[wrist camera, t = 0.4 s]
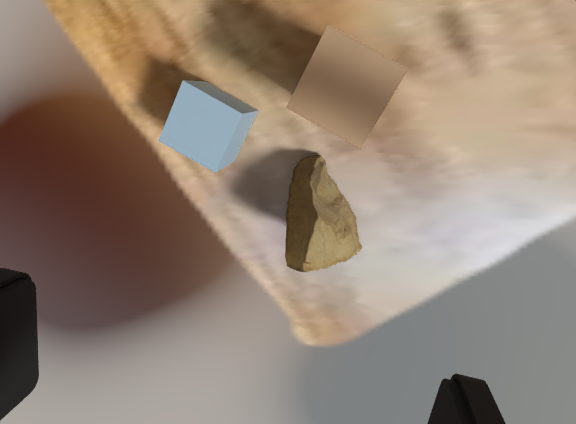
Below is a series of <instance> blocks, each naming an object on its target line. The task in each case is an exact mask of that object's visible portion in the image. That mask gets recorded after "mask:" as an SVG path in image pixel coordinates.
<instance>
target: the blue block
mask: <svg viewBox="0 0 576 424" xmlns="http://www.w3.org/2000/svg"><path fill="white" fill-rule="evenodd" d="M257 113H258V110H257V109H255V108H253V107H251V106H249V105H248V104H246V103H244V102H242V101H241V100H239V99H237V98H235V97H233V96H232V95H230V94H228V93H226V92H225V91H223V90H221V89H219V88H217V87H216V86H214V85H212V84H210V83H209V82H203V81H186V80H183V81H182V83H181V86H180V88H179V91H178V93H177V96H176V98H175V101H174V103H173V106H172V108H171V111H170V113H169V116H168V118H167V121H166V123H165V126H164V128H163V131H162V133H161V136H160V138H159V141H160V142H162V143H163V144H165V145H167V146H169V147H170V148H172V149H174V150H176V151H177V152H179V153H181V154H183V155H185V156H186V157H188V158H190V159H192V160H193V161H195V162H197V163H199V164H201V165H202V166H204V167H206V168H208V169H209V170H211V171H213V172H217V171H219V170H221V169H222V168H224V167H226V166H228V165H229V164H231V163H233V162H234V161H235V159H236V157H237V155H238V153H239V150H240V148H241V146H242V144H243V142H244V140H245V138H246V136H247V134H248V132H249V130H250V128H251V126H252V123H253V121H254V119H255V117H256V115H257Z"/></svg>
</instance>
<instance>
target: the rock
mask: <svg viewBox="0 0 576 424" xmlns="http://www.w3.org/2000/svg"><path fill="white" fill-rule="evenodd" d="M355 220H356V217H355V216H354V214H353V212H352V210H351V208H350V205H349V203H348V202H347V201H346V199H345V197H344V196H343V195H342V194H341V193H340V191H339V190H338V188H337V185H336V184H335V182H334V181H333V180H332V179H331V178H330V176H329V175H328V173H327V168H326V163H325V161H324V159H323V158H322V156H321V155H317V156H313V157H309V158H305V159H302V160H301V161H300V162H299V163H298V164H297V166H296V167H295V169H294V171H293V177H292V182H291V184H290V188H289V199H288V206H287V213H286V221H287V228H286V252H285V257H286V262H287V266H288V267H290V268H292V269H294V270H297V271H300V272H309V271H313V270H320V269H324V268H328V267H330V266H332V265H336V264H337V263H340V262H345V261H347V260H349V259H350V258H351V257H352V256H354V255H356V254H357V252H360V250H361V249H362V246H361V244H360V243H359V238H358V233H357V225H356V221H355Z"/></svg>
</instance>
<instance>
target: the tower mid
mask: <svg viewBox="0 0 576 424" xmlns="http://www.w3.org/2000/svg"><path fill="white" fill-rule="evenodd" d="M407 70H408V68H406V67H404V66H402V65H401V64H399V63H397V62H395V61H393V60H392V59H390V58H388V57H386V56H384V55H383V54H381V53H379V52H377V51H375V50H374V49H372V48H370V47H368V46H366V45H365V44H363V43H361V42H359V41H358V40H356V39H354V38H352V37H350V36H349V35H347V34H345V33H343V32H341V31H340V30H338V29H336V28H334V27H332V26H331V25H329V24H328V25H327V27H326V29H325V31H324V33H323V35H322V37H321V39H320V41H319V43H318V45H317V47H316V49H315V51H314V53H313V55H312V57H311V59H310V61H309V63H308V65H307V67H306V69H305V71H304V73H303V75H302V77H301V79H300V81H299V83H298V85H297V87H296V89H295V91H294V93H293V95H292V97H291V99H290V101H289V103H288V105H287V107H286V108H288V109H289V110H291V111H293V112H295V113H296V114H298V115H300V116H302V117H304V118H305V119H307V120H309V121H311V122H313V123H314V124H316V125H318V126H320V127H321V128H323V129H325V130H327V131H329V132H330V133H332V134H334V135H336V136H337V137H339V138H341V139H343V140H345V141H346V142H348V143H350V144H352V145H354V146H355V147H357V148H359V149H361V148H362V146H363V144H364V143H365V141H366V139H367V137H368V136H369V134H370V132H371V131H372V129H373V127H374V126H375V124H376V122H377V121H378V119H379V117H380V116H381V114H382V112H383V111H384V109H385V107H386V106H387V104H388V102H389V101H390V99H391V97H392V95H393V94H394V92H395V90H396V89H397V87H398V85H399V84H400V82H401V80H402V79H403V77H404V75H405V74H406V72H407Z"/></svg>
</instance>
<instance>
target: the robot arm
mask: <svg viewBox="0 0 576 424" xmlns="http://www.w3.org/2000/svg"><path fill="white" fill-rule="evenodd" d="M38 377H39V370H38V340H37V309H36V287H35V284H34V282H32V280H31V277H30V276H29V275H28V274H26V273H23V272H19V271H14V270H10V269H5V268H0V420H1V419H2V418H3V417H5V416H6V415H7V414H8V413H9V412H10V411H11V410H12V409H13V408H14V407H16V406H17V405H18V404H19V403H20V402H21V401H22V400H23V399H24V398H25V397H27V396H28V395H29V394H30V393H31V392H32V391H33V389H34V388H35V386H36V384H37V381H38ZM428 424H505V422H504V419H503V418H502V415H501V413H500V411H499V409H498V407H497V404H496V402H495V400H494V398H493V396H492V394H491V392H490V389H489V387H488V385H487V384H486V382H485V381H484V380H481V379H476V378H472V377H468V376H464V375H459V374H454V375H453V376H452V377H451V379H450V380H449V379H443V380H442V382H441V385H440V387H439V390H438V393H437V396H436V399H435V403H434V406H433V409H432V412H431V415H430V418H429V421H428Z"/></svg>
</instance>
